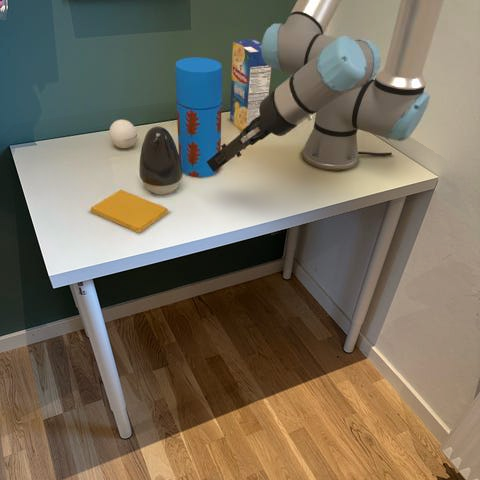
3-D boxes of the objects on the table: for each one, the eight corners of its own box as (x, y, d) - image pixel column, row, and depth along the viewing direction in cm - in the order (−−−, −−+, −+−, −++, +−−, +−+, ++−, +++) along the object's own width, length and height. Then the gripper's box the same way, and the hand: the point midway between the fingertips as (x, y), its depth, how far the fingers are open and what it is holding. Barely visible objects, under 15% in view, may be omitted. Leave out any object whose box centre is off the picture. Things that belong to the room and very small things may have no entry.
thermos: (212, 180, 119) (213, 75, 102) (173, 173, 121) (167, 68, 103) (225, 162, 127) (228, 61, 109) (187, 155, 129) (185, 54, 111)
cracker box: (245, 133, 140) (250, 52, 125) (229, 119, 147) (232, 40, 132) (265, 130, 143) (273, 50, 127) (249, 116, 149) (254, 39, 134)
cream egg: (118, 155, 126) (114, 128, 121) (106, 144, 131) (102, 118, 125) (151, 147, 131) (149, 121, 126) (139, 137, 135) (136, 111, 130)
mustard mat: (167, 212, 108) (167, 208, 107) (139, 233, 102) (138, 228, 101) (121, 193, 113) (120, 189, 112) (91, 212, 106) (90, 207, 106)
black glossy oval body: (136, 198, 112) (129, 135, 101) (145, 176, 119) (139, 116, 108) (179, 201, 112) (176, 139, 101) (185, 180, 119) (183, 119, 108)
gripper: (281, 137, 84) (205, 192, 101) (312, 114, 92) (236, 168, 109) (258, 99, 82) (184, 162, 99) (292, 79, 90) (218, 140, 107)
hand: (211, 165), depth 104 cm, fingers closed
